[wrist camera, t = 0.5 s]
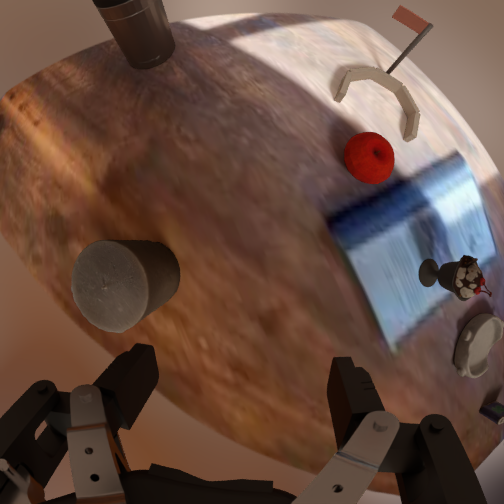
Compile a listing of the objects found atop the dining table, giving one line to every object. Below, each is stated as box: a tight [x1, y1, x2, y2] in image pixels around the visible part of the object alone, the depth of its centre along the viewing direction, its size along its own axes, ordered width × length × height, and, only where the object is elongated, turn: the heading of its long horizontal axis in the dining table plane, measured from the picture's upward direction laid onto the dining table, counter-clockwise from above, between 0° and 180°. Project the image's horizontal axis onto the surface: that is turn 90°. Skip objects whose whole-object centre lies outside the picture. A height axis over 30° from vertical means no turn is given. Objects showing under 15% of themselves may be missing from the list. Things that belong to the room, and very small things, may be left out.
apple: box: [344, 132, 395, 184], centre depth 35 cm, size 8×8×7 cm
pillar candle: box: [71, 240, 180, 333], centre depth 31 cm, size 10×10×15 cm
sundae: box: [419, 255, 492, 301], centre depth 33 cm, size 7×7×15 cm
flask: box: [479, 401, 504, 424], centre depth 37 cm, size 9×3×11 cm, turn 83°
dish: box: [454, 313, 504, 378], centre depth 39 cm, size 14×14×5 cm
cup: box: [334, 5, 433, 143], centre depth 30 cm, size 13×15×18 cm
